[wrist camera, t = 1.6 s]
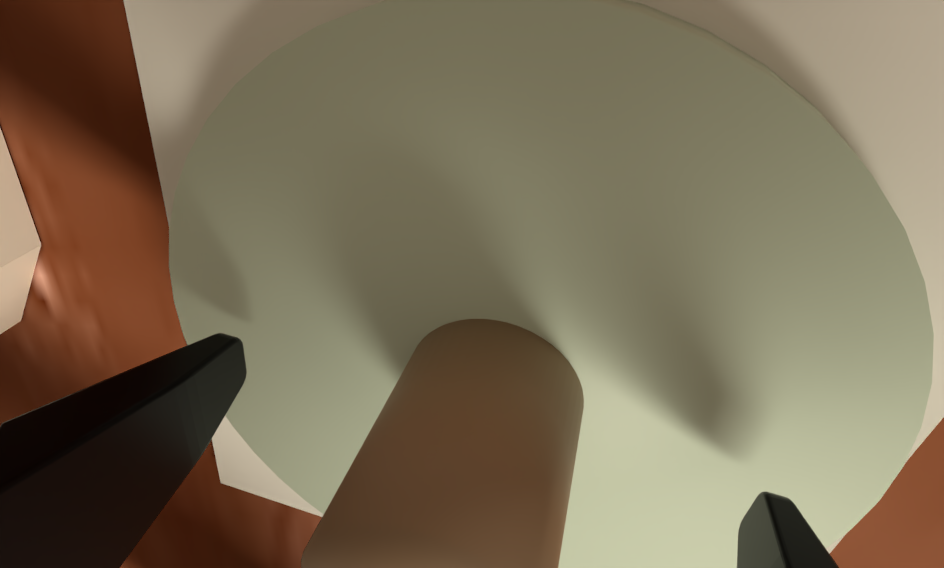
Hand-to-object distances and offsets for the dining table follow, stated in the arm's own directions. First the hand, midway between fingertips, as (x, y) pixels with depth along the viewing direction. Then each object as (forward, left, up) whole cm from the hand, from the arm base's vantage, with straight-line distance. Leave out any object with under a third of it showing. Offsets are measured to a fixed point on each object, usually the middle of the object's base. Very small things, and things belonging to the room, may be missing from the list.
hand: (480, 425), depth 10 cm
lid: (0, 0, -2) cm, 2 cm away
